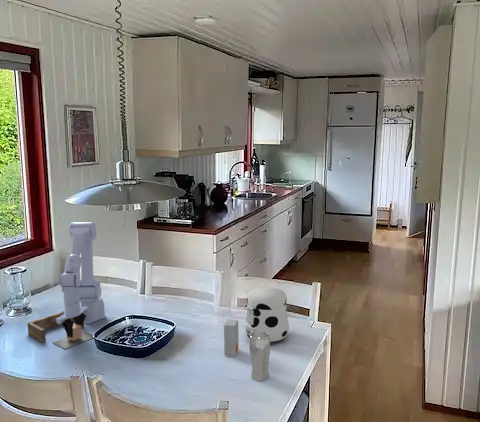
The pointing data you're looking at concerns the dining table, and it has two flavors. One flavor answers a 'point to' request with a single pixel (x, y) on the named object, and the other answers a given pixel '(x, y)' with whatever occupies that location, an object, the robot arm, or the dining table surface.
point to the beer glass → (260, 355)
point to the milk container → (267, 313)
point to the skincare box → (231, 338)
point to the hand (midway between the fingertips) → (74, 334)
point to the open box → (40, 325)
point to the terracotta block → (76, 332)
